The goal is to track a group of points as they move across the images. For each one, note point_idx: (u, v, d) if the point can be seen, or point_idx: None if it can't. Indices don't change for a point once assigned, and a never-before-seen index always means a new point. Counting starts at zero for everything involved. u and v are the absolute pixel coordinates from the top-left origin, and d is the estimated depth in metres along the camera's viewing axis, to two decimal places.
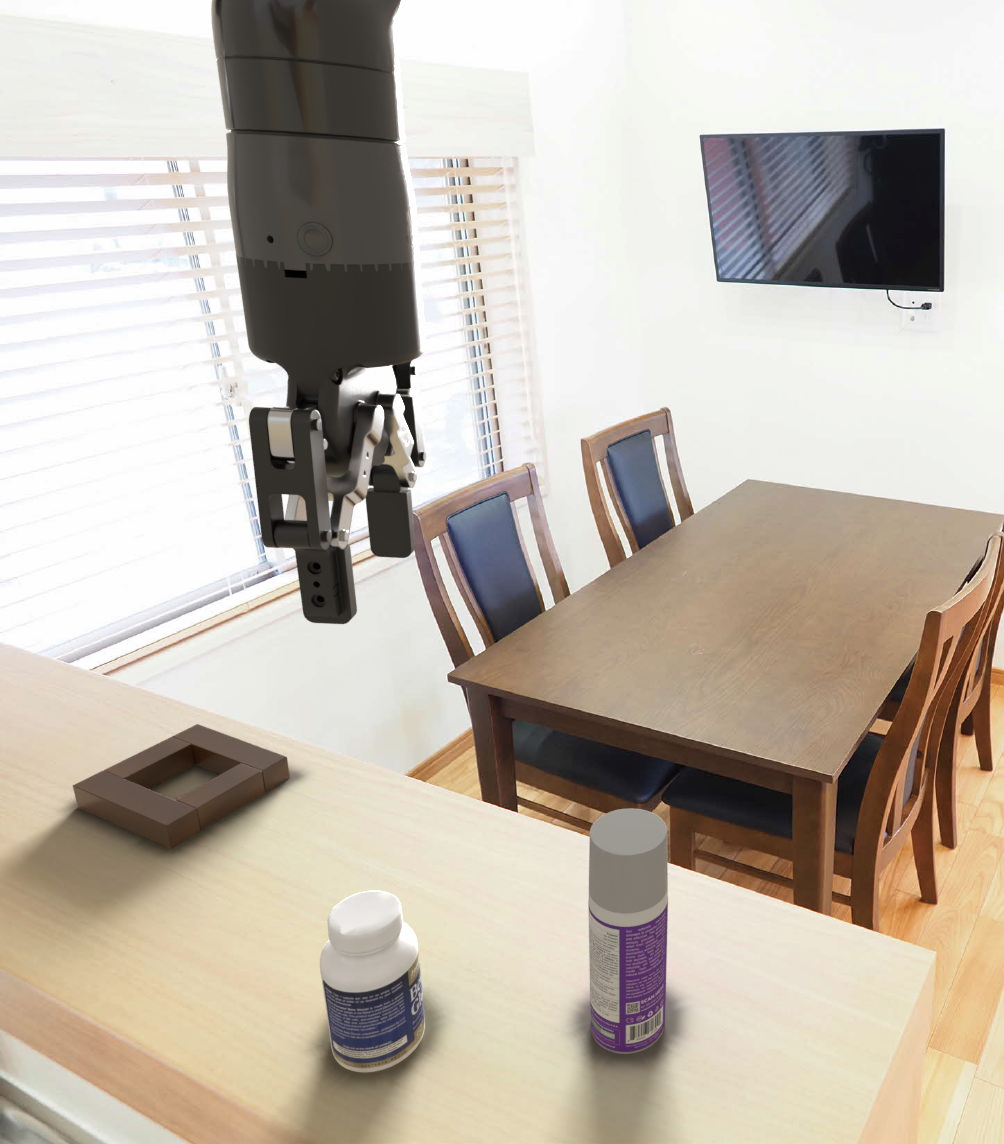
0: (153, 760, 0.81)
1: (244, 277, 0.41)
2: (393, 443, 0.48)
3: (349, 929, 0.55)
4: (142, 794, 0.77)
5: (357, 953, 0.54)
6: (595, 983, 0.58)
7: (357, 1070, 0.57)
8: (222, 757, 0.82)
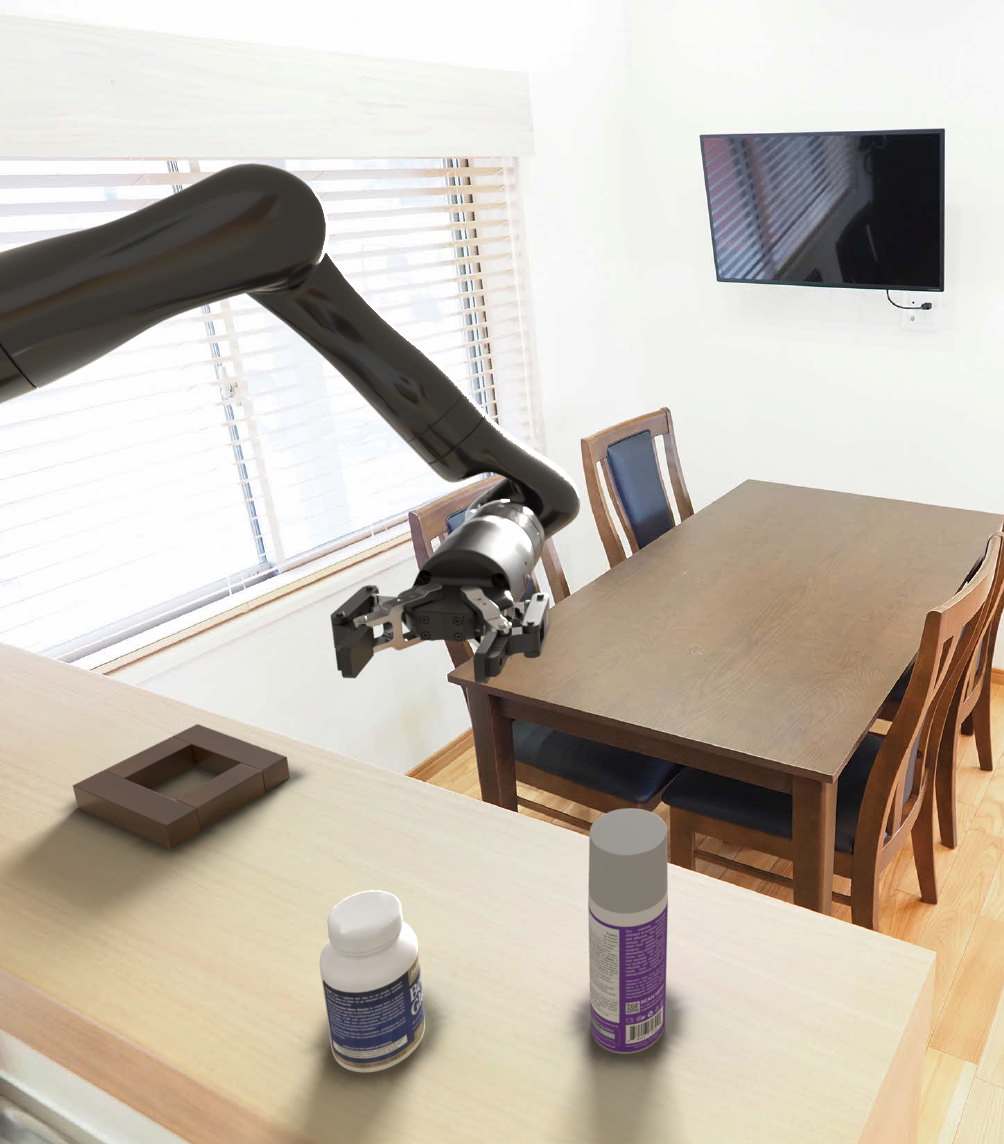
0: (153, 760, 0.81)
1: (507, 550, 0.75)
2: (416, 638, 0.69)
3: (349, 929, 0.55)
4: (142, 794, 0.77)
5: (357, 952, 0.54)
6: (595, 983, 0.58)
7: (357, 1070, 0.57)
8: (222, 757, 0.82)
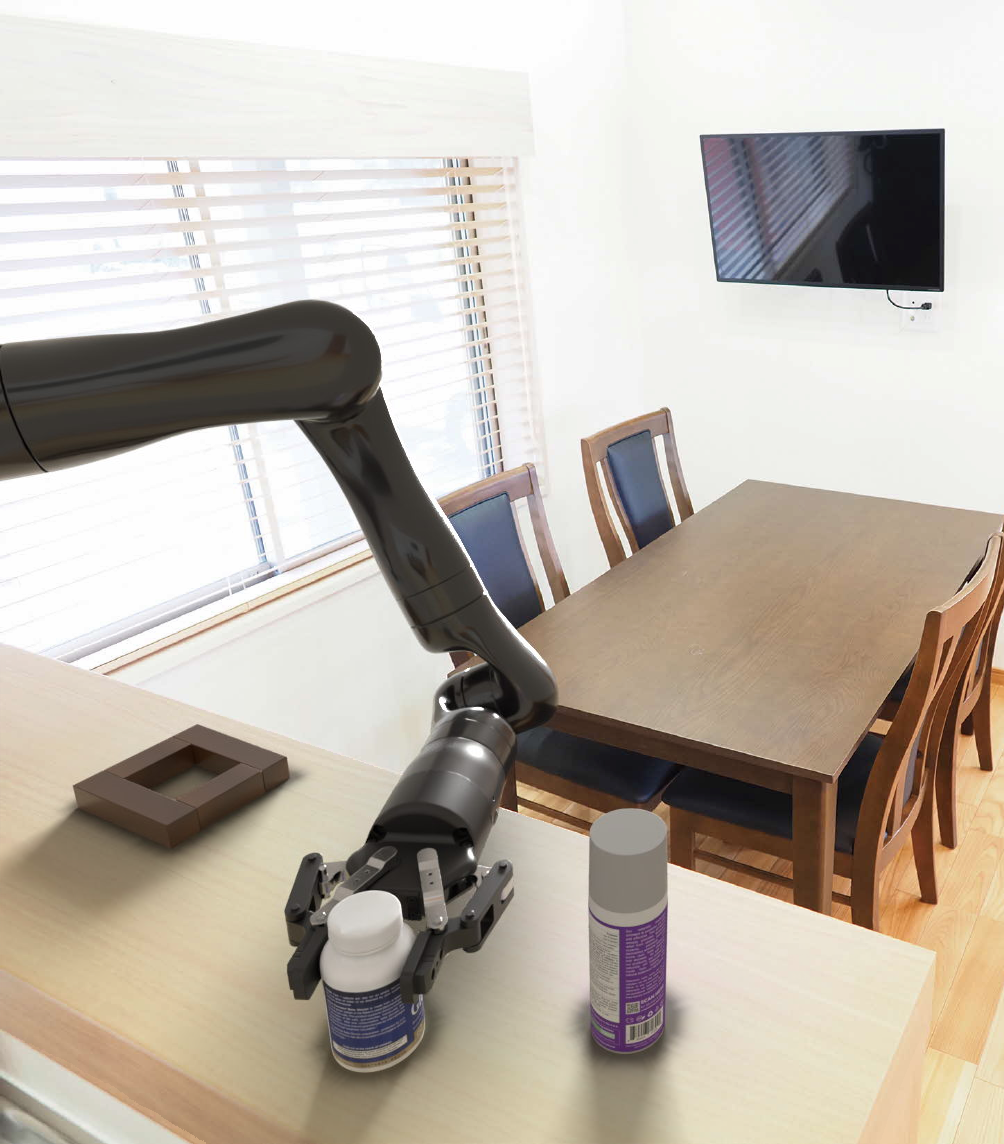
0: (153, 760, 0.81)
1: (472, 791, 0.68)
2: None
3: (349, 929, 0.55)
4: (142, 794, 0.77)
5: (357, 952, 0.54)
6: (595, 983, 0.58)
7: (357, 1070, 0.57)
8: (222, 757, 0.82)
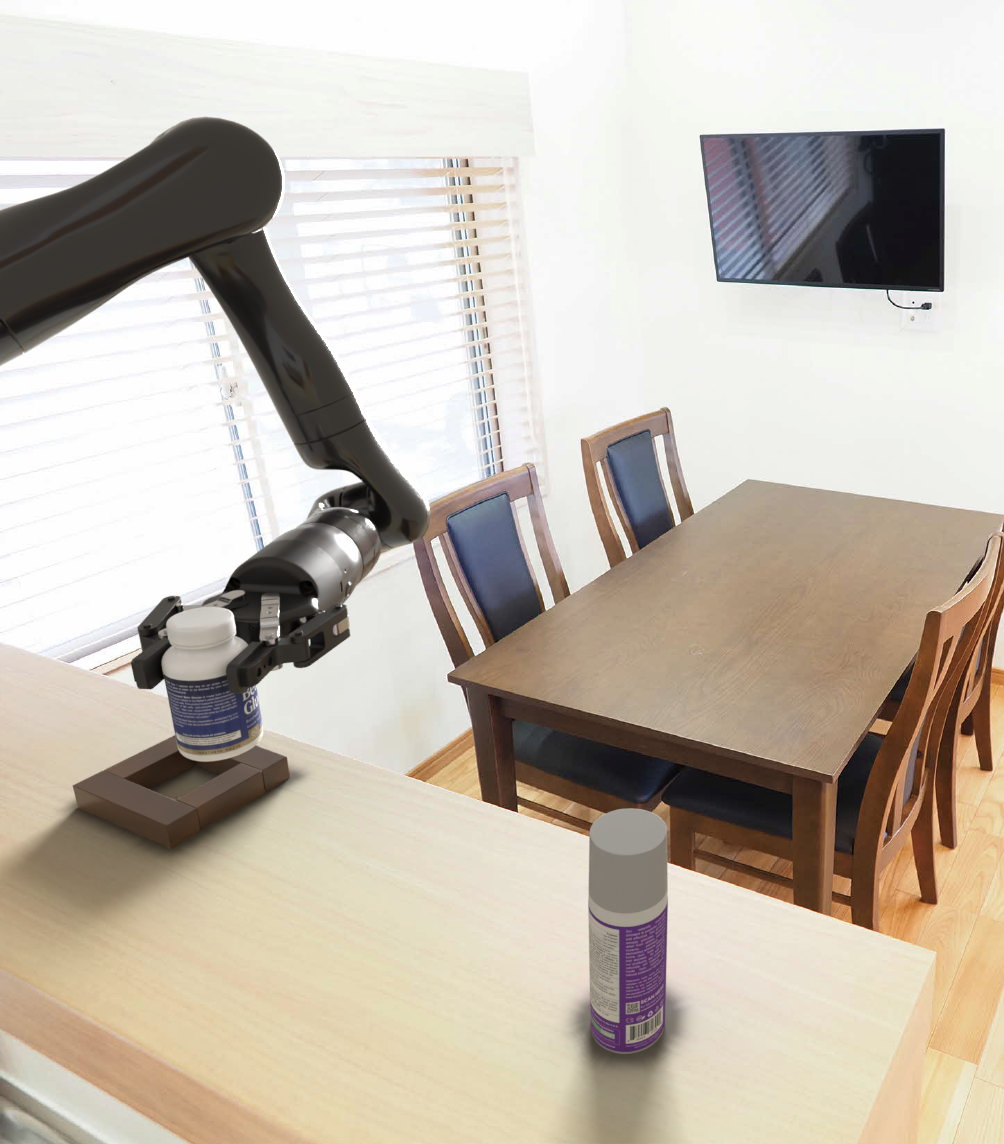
0: (153, 760, 0.81)
1: (322, 557, 0.78)
2: None
3: (183, 626, 0.64)
4: (142, 794, 0.77)
5: (190, 646, 0.64)
6: (595, 983, 0.58)
7: (196, 757, 0.66)
8: None
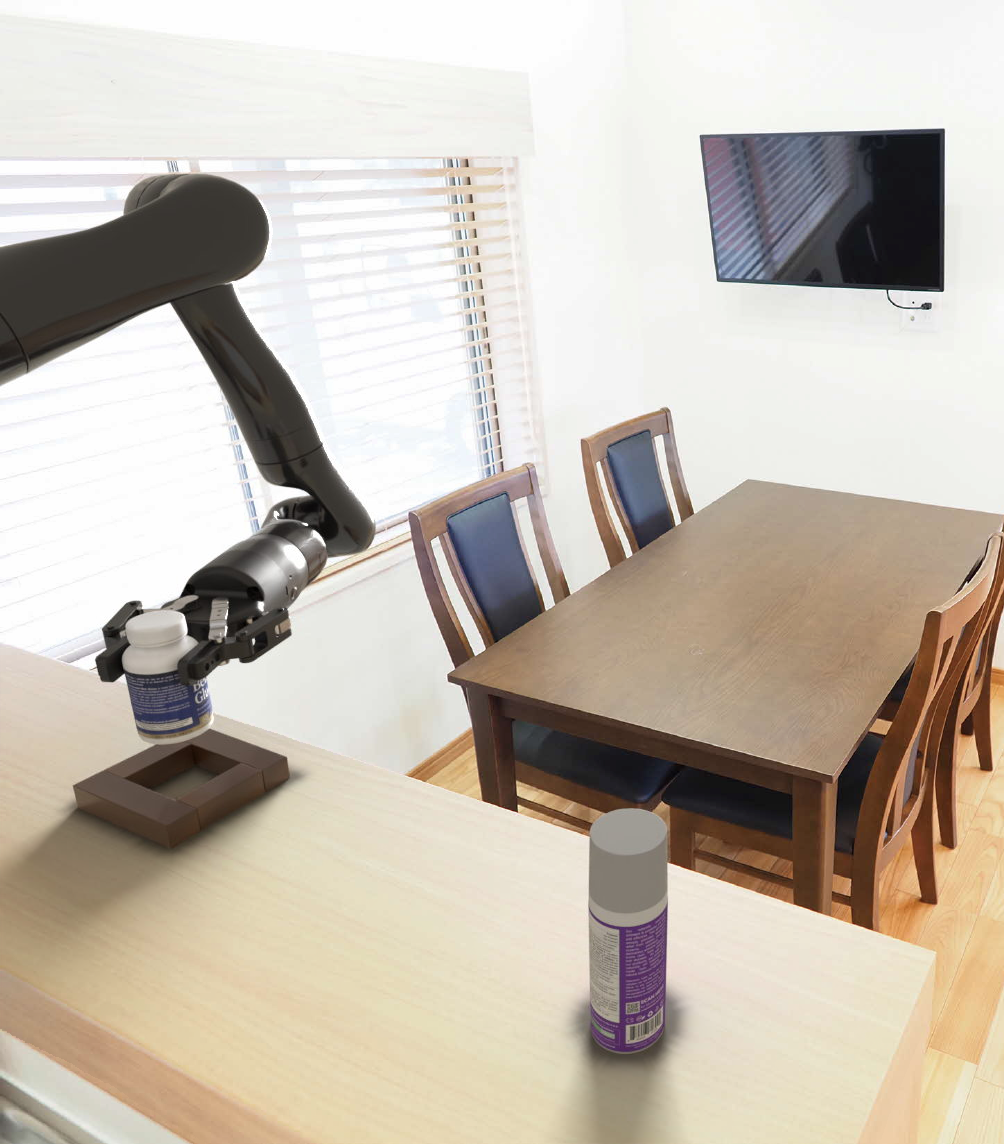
0: (153, 760, 0.81)
1: (269, 565, 0.88)
2: None
3: (140, 627, 0.74)
4: (142, 794, 0.77)
5: (146, 645, 0.74)
6: (595, 983, 0.58)
7: (153, 741, 0.76)
8: (222, 757, 0.82)
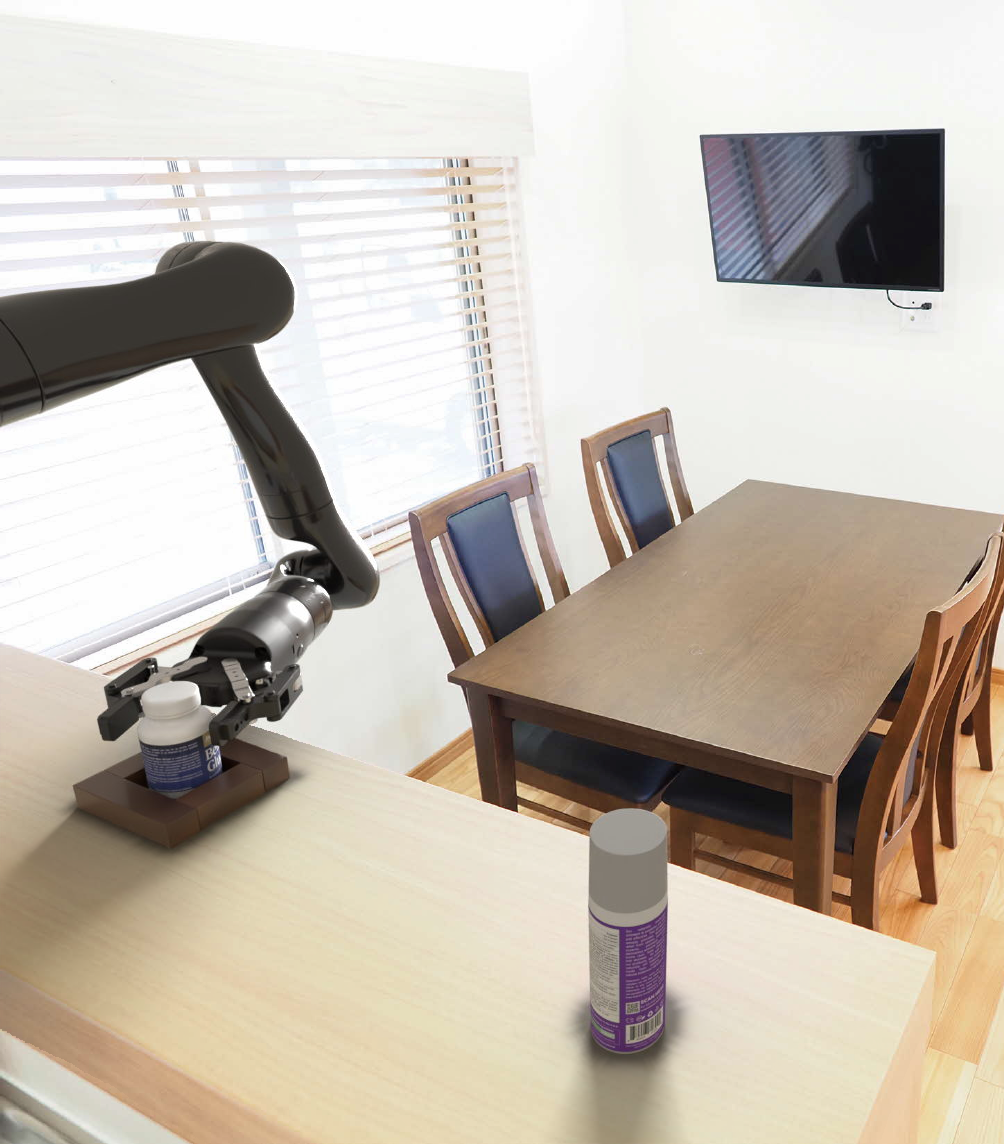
0: None
1: (276, 625, 0.90)
2: None
3: (156, 700, 0.76)
4: (142, 794, 0.77)
5: (161, 717, 0.76)
6: (595, 983, 0.58)
7: None
8: (222, 757, 0.82)
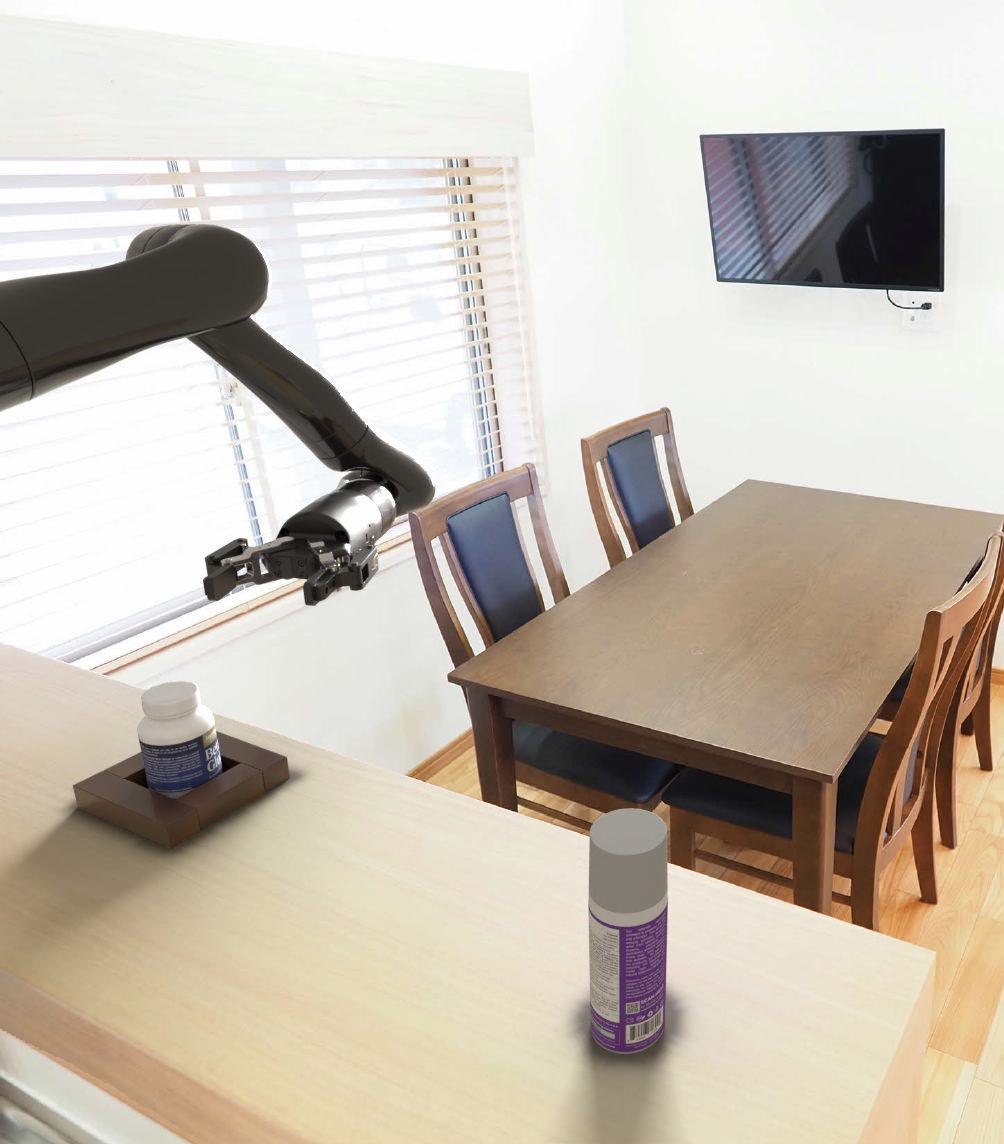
0: None
1: (352, 514, 0.99)
2: (273, 577, 0.92)
3: (155, 700, 0.76)
4: (142, 794, 0.77)
5: (161, 717, 0.76)
6: (595, 983, 0.58)
7: None
8: (222, 757, 0.82)
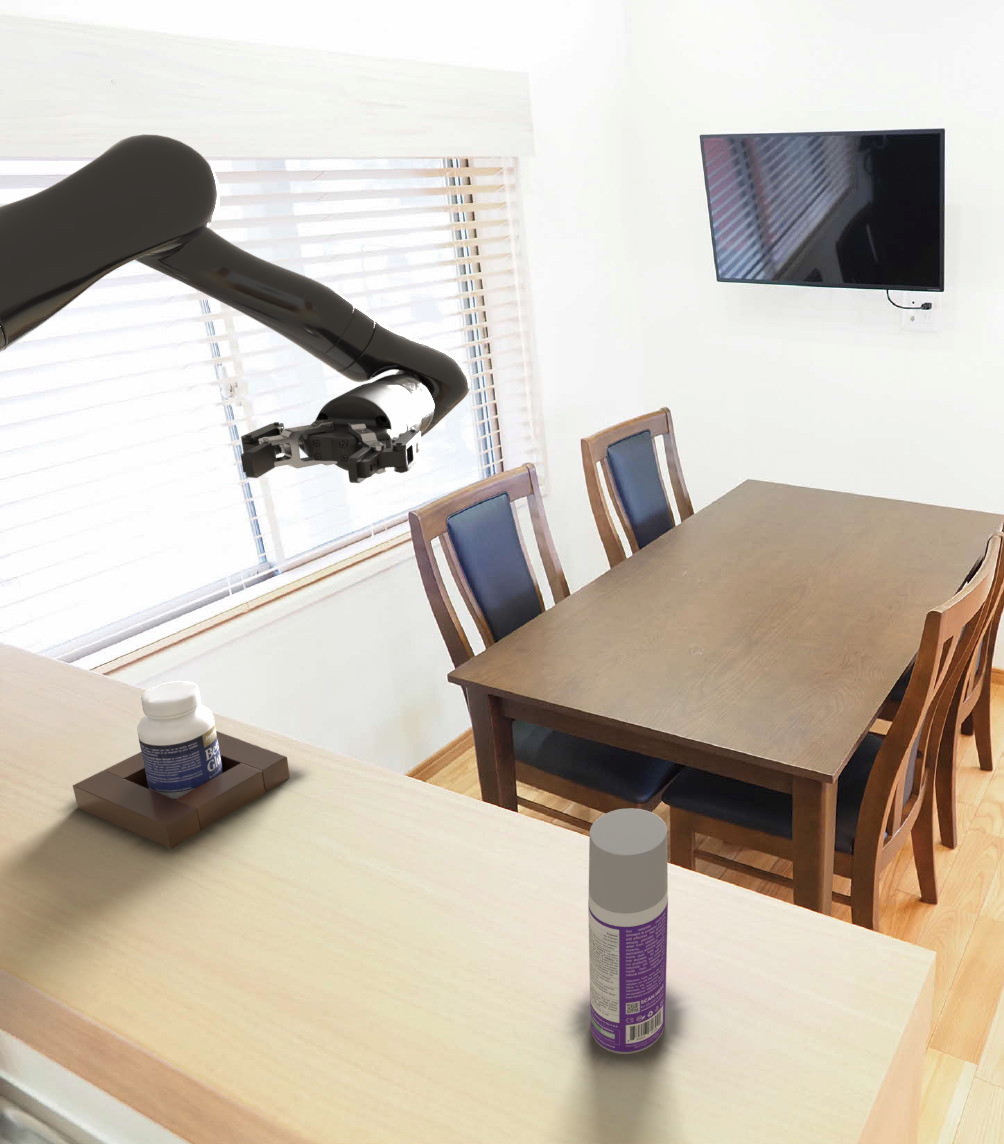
0: None
1: (392, 402, 0.94)
2: (312, 461, 0.87)
3: (155, 700, 0.76)
4: (142, 794, 0.77)
5: (161, 717, 0.76)
6: (595, 983, 0.58)
7: None
8: (222, 757, 0.82)
